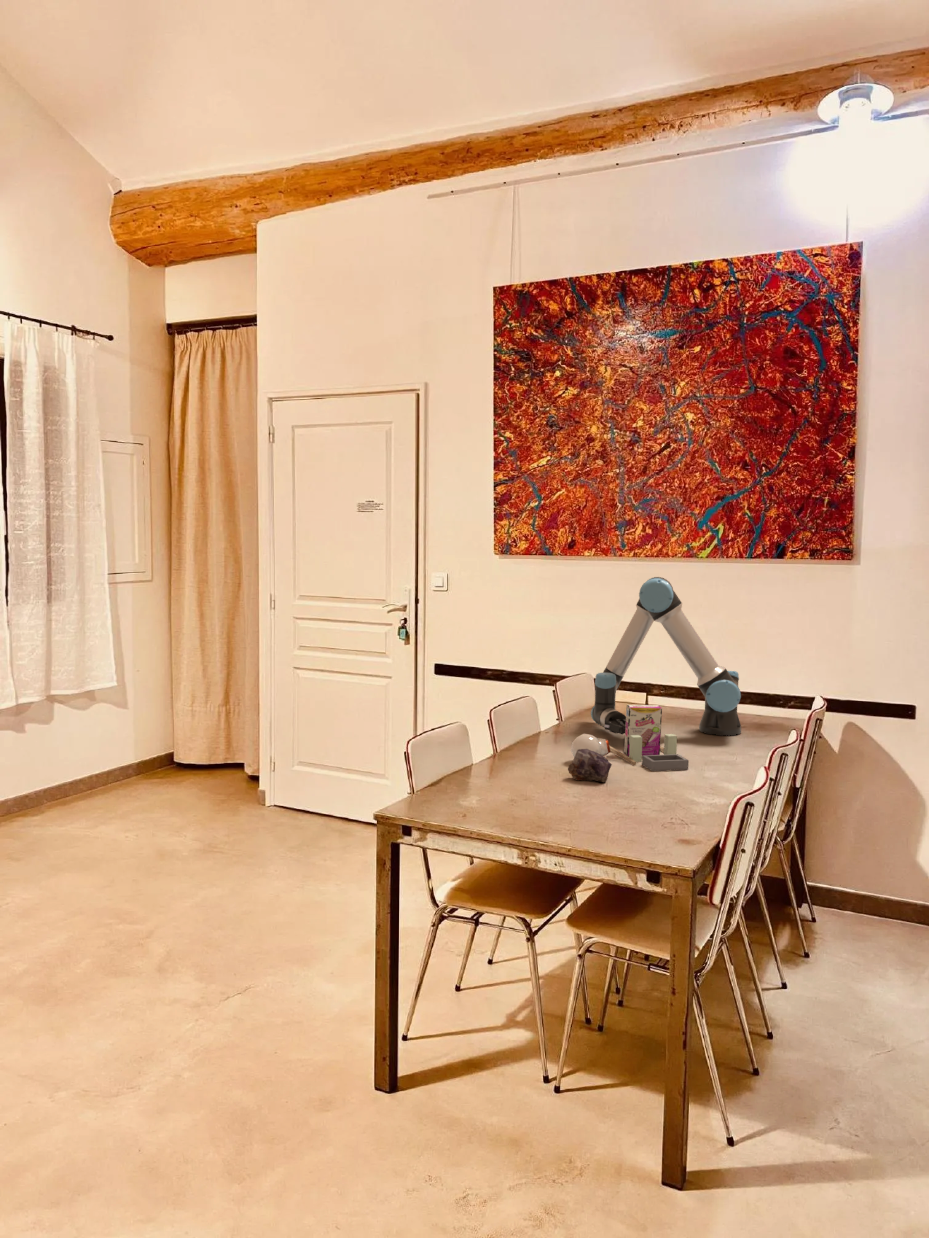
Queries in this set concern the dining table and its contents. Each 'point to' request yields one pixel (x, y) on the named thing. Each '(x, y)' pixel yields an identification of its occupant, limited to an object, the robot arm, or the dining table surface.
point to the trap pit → (665, 762)
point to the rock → (589, 766)
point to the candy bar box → (644, 727)
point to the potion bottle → (590, 744)
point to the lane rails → (626, 756)
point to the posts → (636, 746)
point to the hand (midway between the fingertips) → (639, 735)
